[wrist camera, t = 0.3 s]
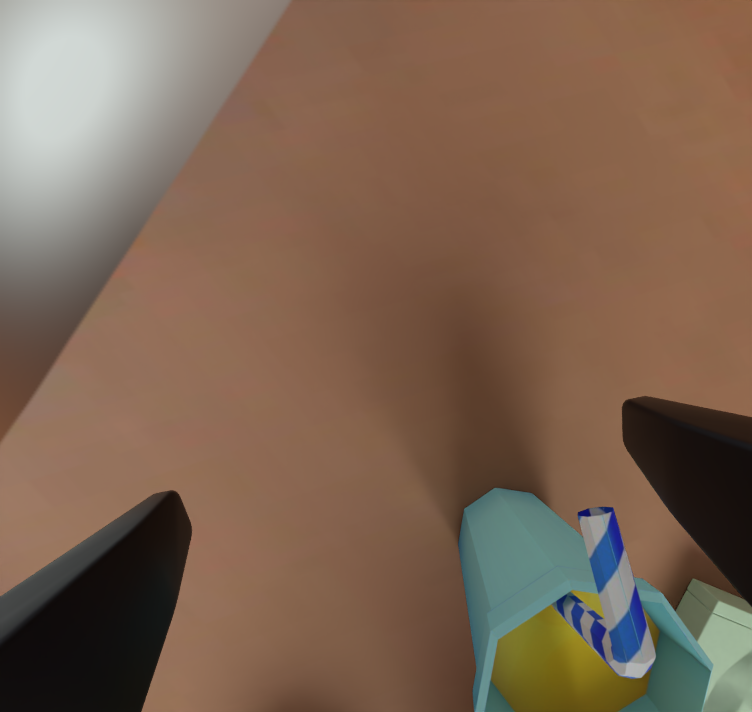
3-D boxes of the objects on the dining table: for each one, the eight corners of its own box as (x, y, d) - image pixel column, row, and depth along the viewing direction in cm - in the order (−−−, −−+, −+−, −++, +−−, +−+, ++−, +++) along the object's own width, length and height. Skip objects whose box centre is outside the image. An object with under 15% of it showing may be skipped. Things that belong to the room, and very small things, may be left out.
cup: (402, 412, 25) (434, 569, 10) (545, 378, 24) (805, 484, 9) (461, 649, 26) (569, 1112, 11) (597, 619, 26) (900, 1053, 11)
